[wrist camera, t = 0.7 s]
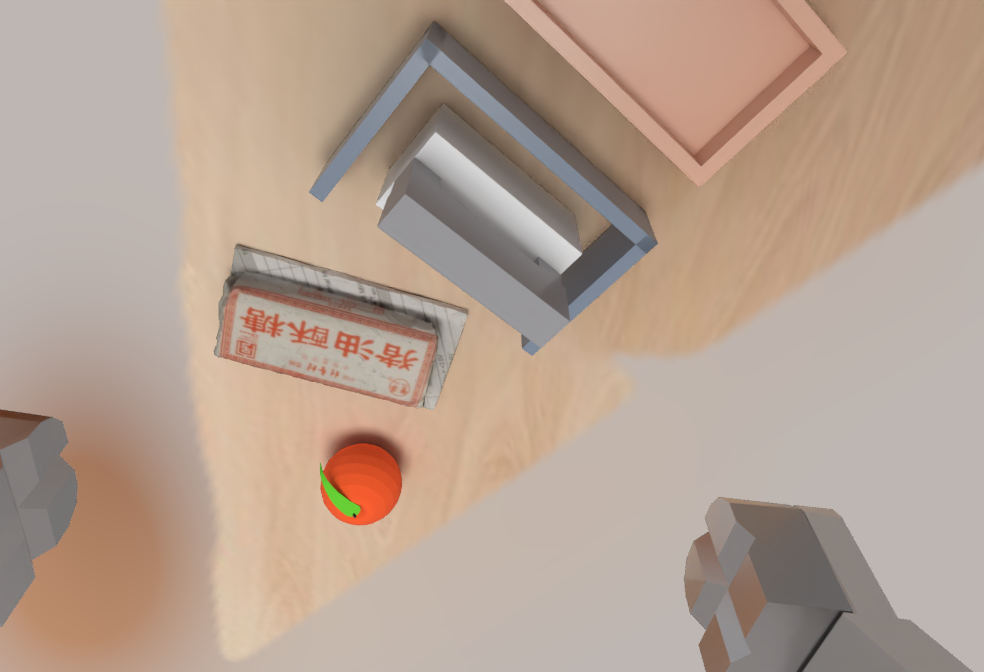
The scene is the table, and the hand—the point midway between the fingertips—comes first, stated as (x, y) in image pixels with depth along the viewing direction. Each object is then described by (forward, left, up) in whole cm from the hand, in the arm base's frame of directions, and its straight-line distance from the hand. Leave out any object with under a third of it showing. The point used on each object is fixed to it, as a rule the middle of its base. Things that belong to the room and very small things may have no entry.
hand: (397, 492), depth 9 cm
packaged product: (+25, +7, -41) cm, 48 cm away
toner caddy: (+9, +8, -40) cm, 42 cm away
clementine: (+35, +16, -40) cm, 56 cm away
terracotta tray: (-7, +9, -40) cm, 41 cm away
